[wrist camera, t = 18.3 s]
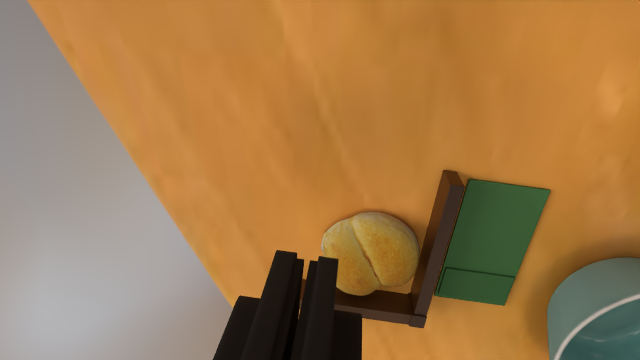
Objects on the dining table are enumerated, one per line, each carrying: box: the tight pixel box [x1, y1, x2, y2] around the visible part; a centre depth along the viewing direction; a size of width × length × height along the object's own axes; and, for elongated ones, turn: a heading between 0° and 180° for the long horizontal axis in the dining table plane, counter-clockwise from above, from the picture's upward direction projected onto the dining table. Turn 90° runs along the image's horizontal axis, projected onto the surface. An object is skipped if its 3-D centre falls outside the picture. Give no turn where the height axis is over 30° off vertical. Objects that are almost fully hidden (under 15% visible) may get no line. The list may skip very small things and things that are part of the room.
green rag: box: [434, 179, 550, 306], centre depth 38 cm, size 7×13×1 cm, turn 174°
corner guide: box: [299, 170, 465, 328], centre depth 37 cm, size 15×15×3 cm
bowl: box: [547, 257, 640, 360], centre depth 36 cm, size 16×16×8 cm
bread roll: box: [321, 212, 420, 296], centre depth 37 cm, size 8×9×4 cm
